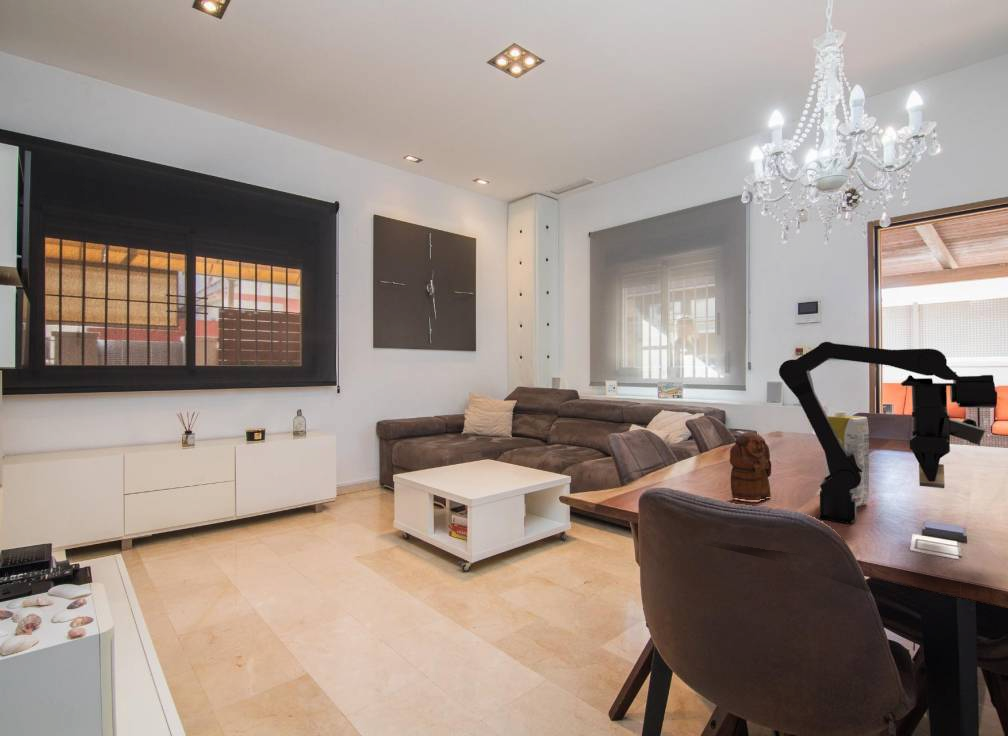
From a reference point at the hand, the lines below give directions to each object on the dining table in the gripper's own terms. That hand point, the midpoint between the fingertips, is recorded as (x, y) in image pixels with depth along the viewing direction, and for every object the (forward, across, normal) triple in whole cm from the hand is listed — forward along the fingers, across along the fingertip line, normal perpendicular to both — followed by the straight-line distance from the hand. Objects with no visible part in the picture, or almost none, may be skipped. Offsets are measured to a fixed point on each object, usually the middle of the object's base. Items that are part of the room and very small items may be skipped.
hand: (931, 479), depth 107 cm
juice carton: (+11, +16, +18) cm, 26 cm away
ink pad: (+12, +1, -2) cm, 12 cm away
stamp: (+1, 0, 0) cm, 1 cm away
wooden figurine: (+11, +4, +37) cm, 39 cm away
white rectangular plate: (+11, -10, 0) cm, 15 cm away
